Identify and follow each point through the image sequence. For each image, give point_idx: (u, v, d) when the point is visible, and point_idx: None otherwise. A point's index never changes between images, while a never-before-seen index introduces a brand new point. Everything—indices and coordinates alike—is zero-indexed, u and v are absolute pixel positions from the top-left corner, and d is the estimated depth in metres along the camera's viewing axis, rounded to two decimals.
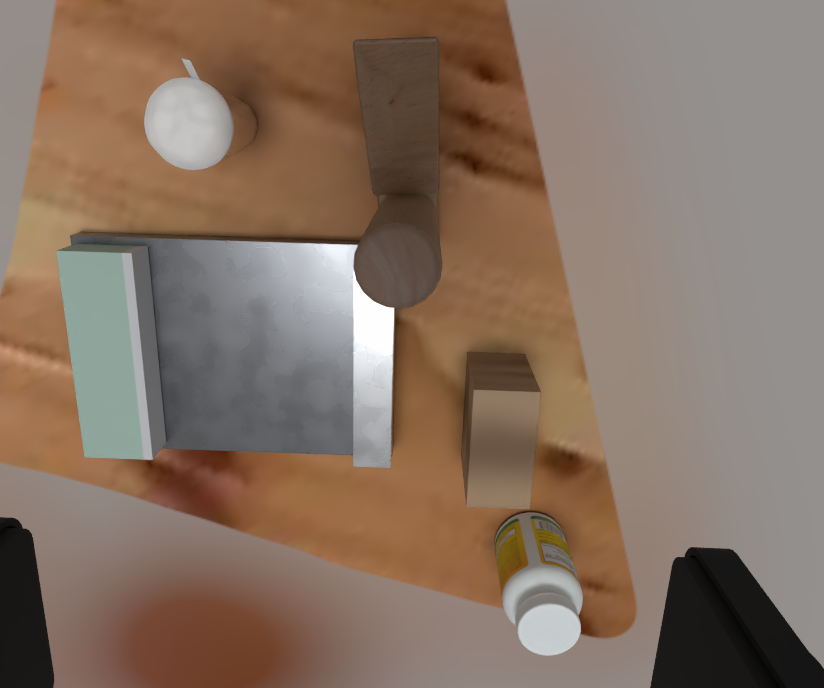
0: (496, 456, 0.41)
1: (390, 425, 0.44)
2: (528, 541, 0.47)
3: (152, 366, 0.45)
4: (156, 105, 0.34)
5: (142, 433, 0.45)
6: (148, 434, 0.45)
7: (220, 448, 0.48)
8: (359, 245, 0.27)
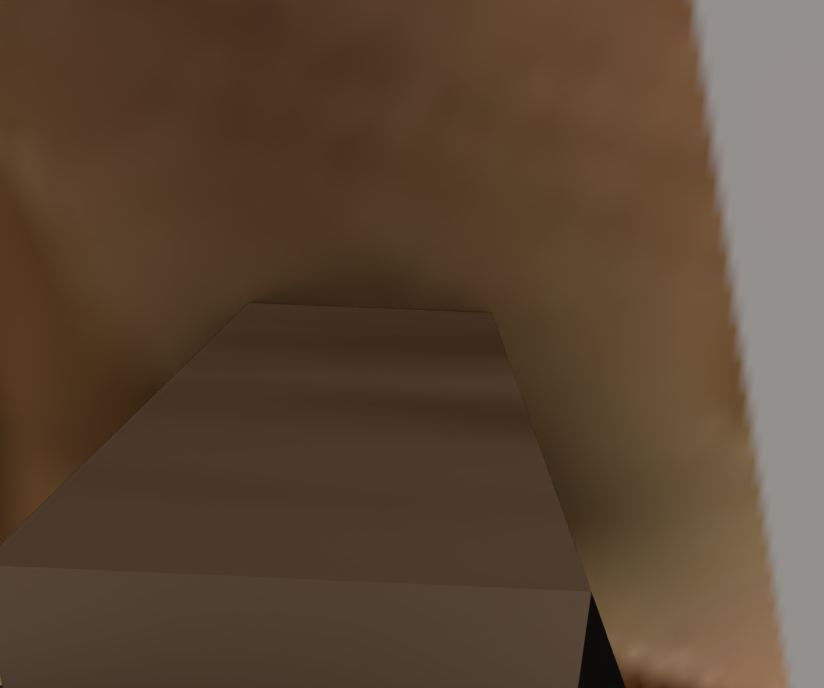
0: None
1: None
2: None
3: None
4: None
5: None
6: None
7: None
8: None
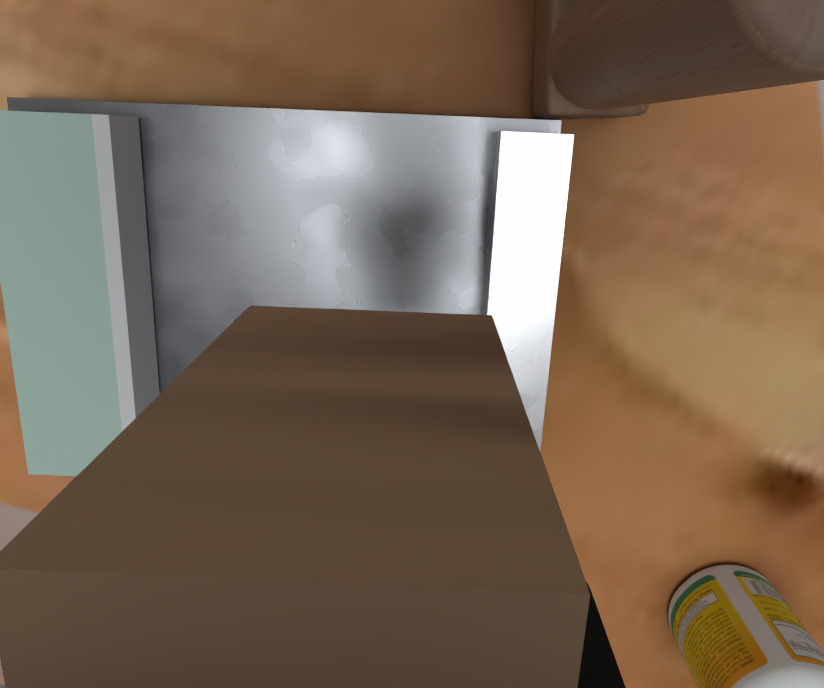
0: None
1: (541, 425, 0.26)
2: (749, 615, 0.29)
3: (142, 323, 0.27)
4: None
5: None
6: None
7: None
8: None
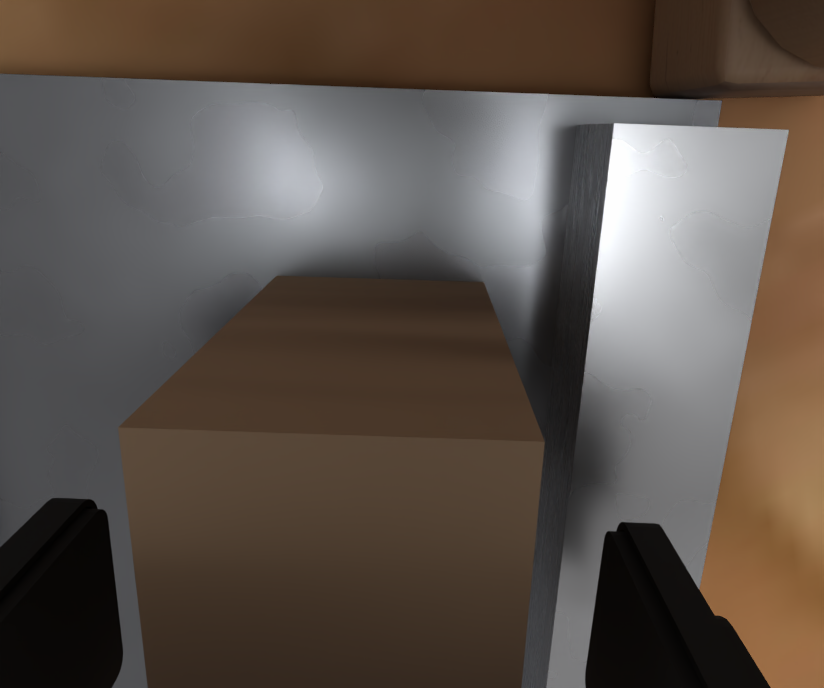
0: None
1: None
2: None
3: None
4: None
5: None
6: None
7: None
8: None
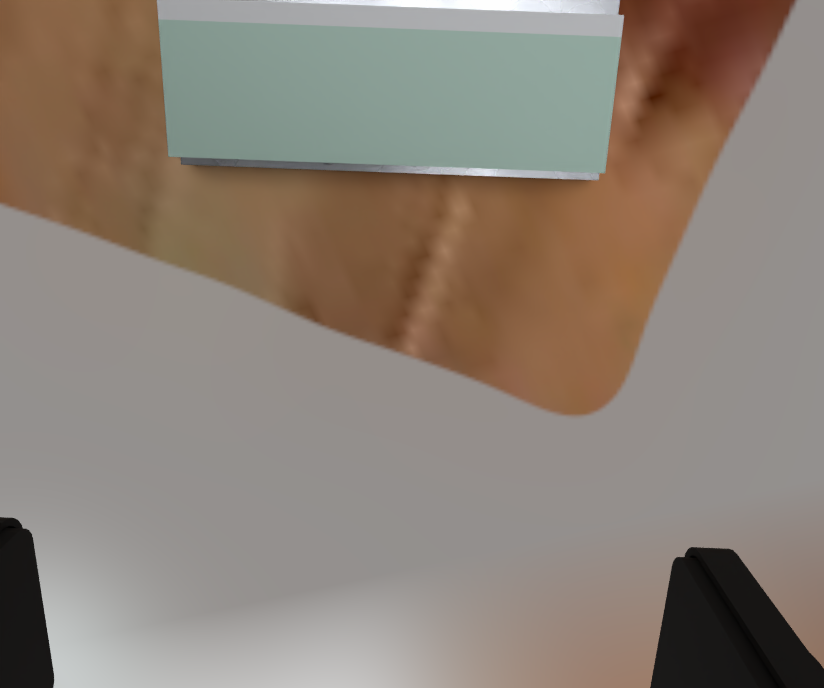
0: None
1: None
2: None
3: None
4: None
5: (558, 31, 0.20)
6: (561, 16, 0.20)
7: None
8: None
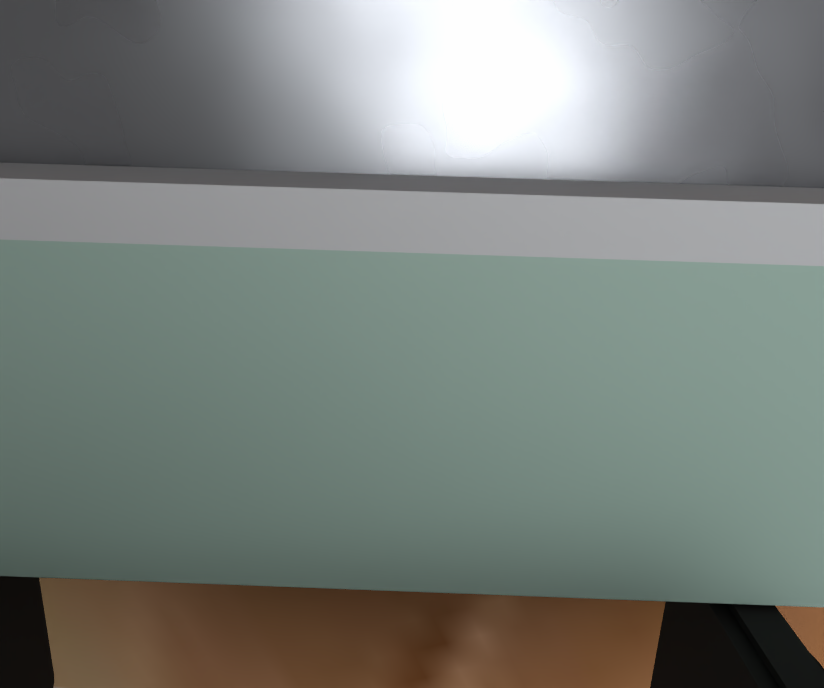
0: None
1: None
2: None
3: (425, 181, 0.08)
4: None
5: None
6: None
7: None
8: None
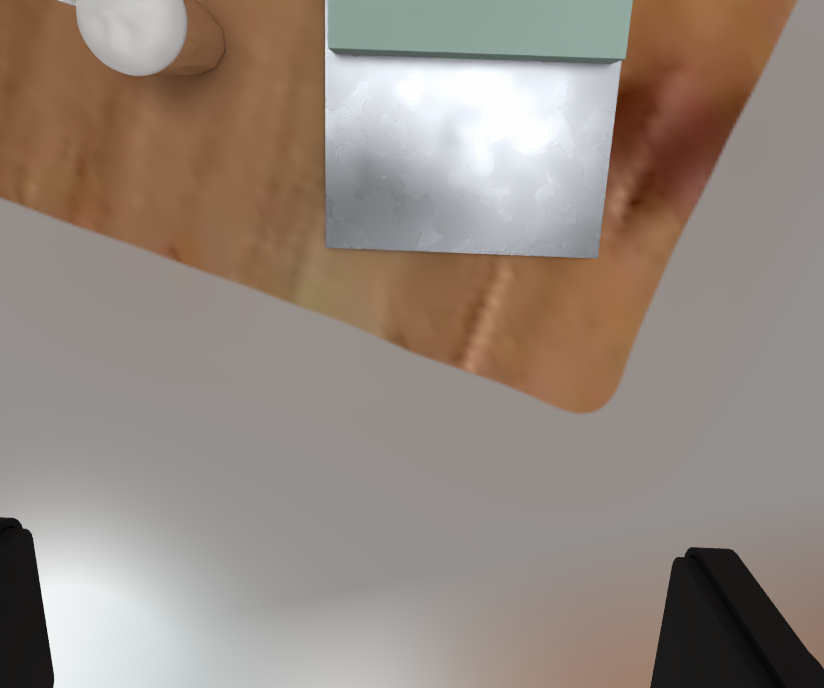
0: None
1: None
2: None
3: None
4: (105, 48, 0.28)
5: None
6: None
7: (615, 87, 0.34)
8: None
